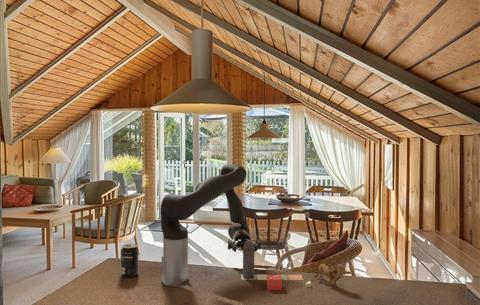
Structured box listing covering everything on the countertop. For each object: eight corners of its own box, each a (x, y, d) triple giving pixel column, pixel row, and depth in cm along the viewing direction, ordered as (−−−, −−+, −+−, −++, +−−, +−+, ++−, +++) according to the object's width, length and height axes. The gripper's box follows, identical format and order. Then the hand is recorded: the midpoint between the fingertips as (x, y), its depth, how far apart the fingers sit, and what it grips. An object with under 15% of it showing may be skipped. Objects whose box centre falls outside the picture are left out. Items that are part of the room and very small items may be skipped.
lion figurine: (348, 288, 133) (348, 264, 133) (338, 292, 130) (338, 267, 130) (318, 276, 145) (318, 254, 145) (308, 279, 142) (309, 256, 142)
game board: (235, 286, 135) (235, 282, 135) (235, 275, 147) (235, 271, 147) (311, 286, 135) (311, 283, 135) (305, 275, 147) (305, 272, 147)
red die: (267, 293, 128) (268, 279, 128) (266, 288, 133) (266, 274, 133) (282, 293, 128) (282, 279, 128) (280, 288, 133) (280, 274, 133)
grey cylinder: (240, 277, 140) (240, 241, 140) (247, 274, 144) (247, 238, 143) (249, 279, 138) (250, 243, 137) (256, 276, 141) (256, 240, 141)
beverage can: (131, 271, 150) (131, 242, 150) (141, 274, 146) (142, 245, 146) (116, 276, 144) (117, 246, 144) (127, 279, 140) (127, 248, 140)
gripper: (226, 231, 167) (228, 240, 151) (257, 231, 168) (262, 240, 152) (226, 247, 167) (228, 258, 151) (257, 247, 168) (262, 258, 152)
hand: (245, 249), depth 151 cm, fingers open, 8 cm apart
